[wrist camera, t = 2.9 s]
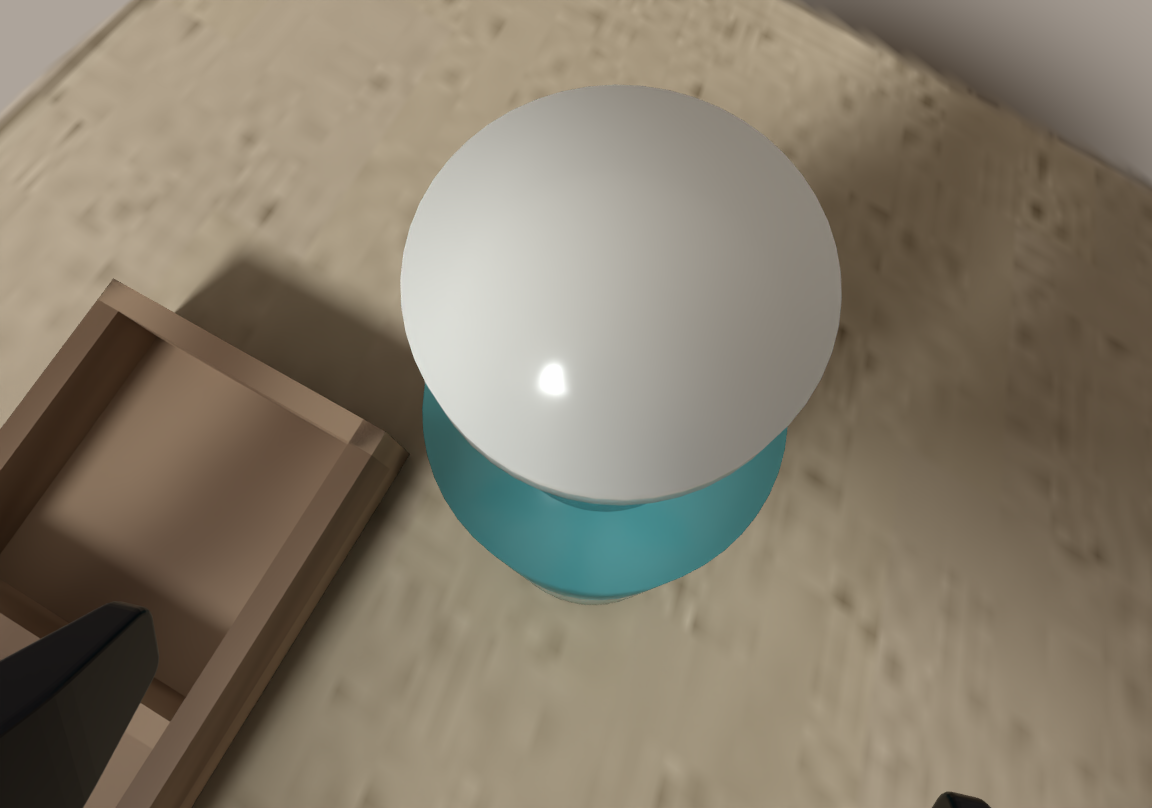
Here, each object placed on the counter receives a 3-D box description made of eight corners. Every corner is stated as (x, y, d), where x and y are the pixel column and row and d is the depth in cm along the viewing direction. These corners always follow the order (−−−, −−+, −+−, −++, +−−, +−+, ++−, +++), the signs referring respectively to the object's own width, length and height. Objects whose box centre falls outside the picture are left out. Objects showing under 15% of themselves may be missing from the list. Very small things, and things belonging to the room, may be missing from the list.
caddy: (409, 453, 21) (386, 431, 18) (32, 1064, 17) (-60, 1139, 15) (167, 317, 22) (113, 278, 19) (-233, 871, 18) (-361, 911, 16)
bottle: (721, 469, 21) (1006, 174, 7) (631, 642, 20) (756, 698, 6) (556, 380, 21) (515, -54, 8) (460, 543, 20) (208, 385, 6)
